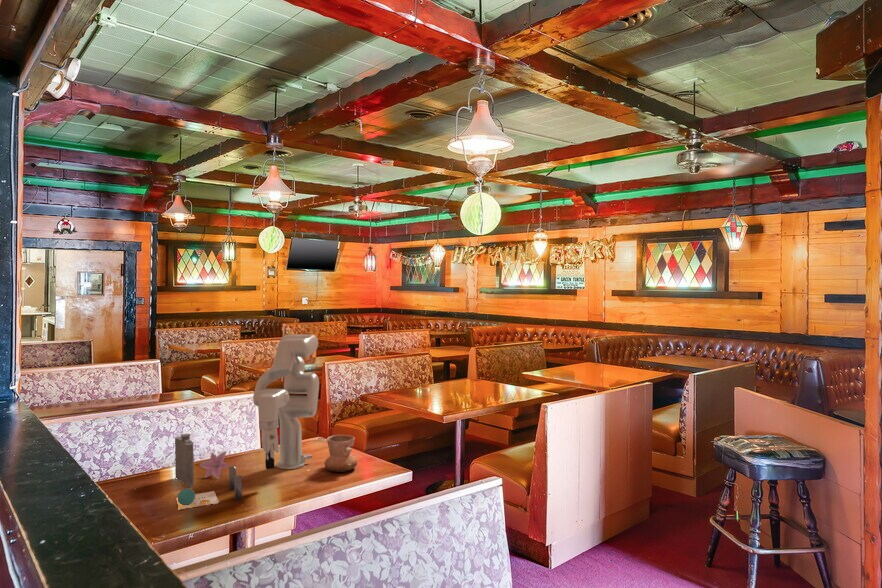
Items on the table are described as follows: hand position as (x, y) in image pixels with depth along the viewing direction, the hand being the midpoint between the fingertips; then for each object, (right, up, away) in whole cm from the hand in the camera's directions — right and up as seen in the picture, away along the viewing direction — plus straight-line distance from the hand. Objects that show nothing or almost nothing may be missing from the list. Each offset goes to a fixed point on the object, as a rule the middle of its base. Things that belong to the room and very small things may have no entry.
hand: (270, 468), depth 231 cm
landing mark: (-24, -8, -14) cm, 29 cm away
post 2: (-8, -8, -13) cm, 17 cm away
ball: (-26, -5, -18) cm, 32 cm away
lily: (-28, -8, +14) cm, 32 cm away
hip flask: (-37, -8, +7) cm, 39 cm away
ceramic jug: (+25, -8, +23) cm, 34 cm away
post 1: (-15, -8, -2) cm, 17 cm away
